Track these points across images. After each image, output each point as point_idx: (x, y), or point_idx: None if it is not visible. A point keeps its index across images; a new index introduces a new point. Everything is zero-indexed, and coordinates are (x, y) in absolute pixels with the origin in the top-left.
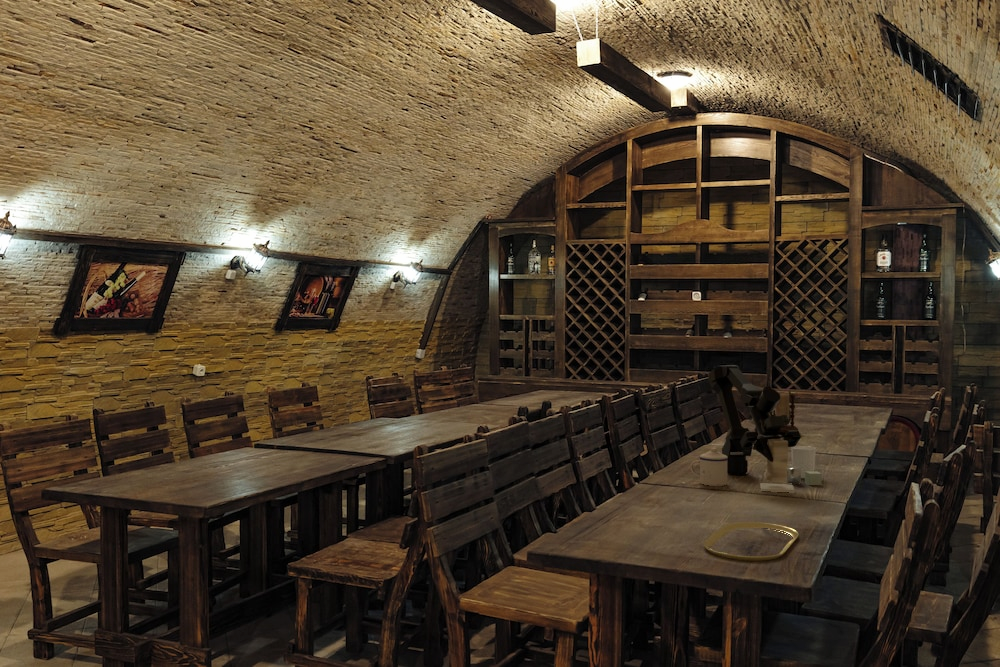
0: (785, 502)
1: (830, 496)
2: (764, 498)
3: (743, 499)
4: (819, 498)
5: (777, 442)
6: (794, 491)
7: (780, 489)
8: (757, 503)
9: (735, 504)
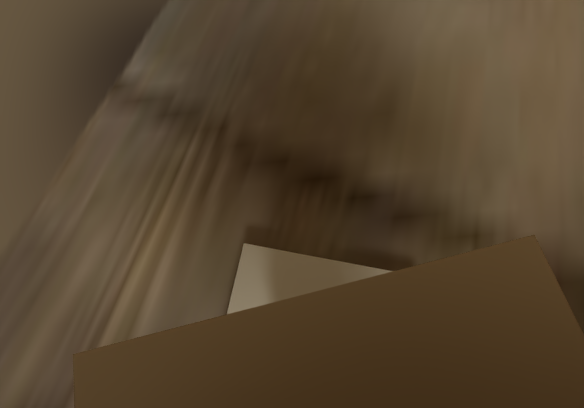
0: (343, 61)
1: (97, 193)
2: (422, 123)
3: (520, 95)
4: (169, 146)
5: (426, 267)
6: (246, 244)
7: (318, 257)
8: (463, 34)
9: (554, 10)
